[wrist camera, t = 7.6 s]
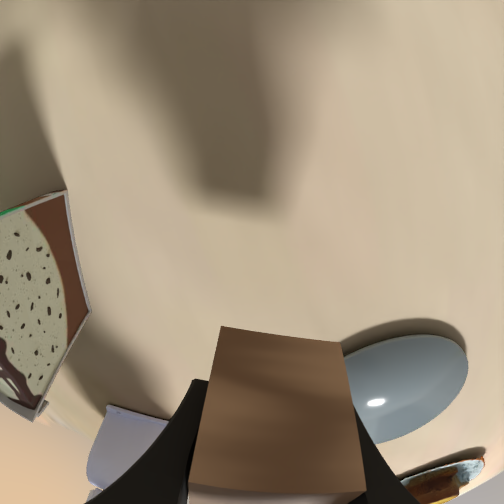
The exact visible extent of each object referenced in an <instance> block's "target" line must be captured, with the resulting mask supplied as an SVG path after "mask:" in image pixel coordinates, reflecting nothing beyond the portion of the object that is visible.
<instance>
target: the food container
mask: <svg viewBox="0 0 504 504" xmlns="http://www.w3.org/2000/svg"><path fill="white" fill-rule="evenodd" d="M91 312H92V310H91V306H90V303H89V299H88V295H87V291H86V287H85V283H84V279H83V275H82V271H81V266H80V262H79V257H78V252H77V247H76V242H75V237H74V231H73V225H72V219H71V213H70V206H69V199H68V191H67V190H59V191H54V192H51V193H48V194H45V195H43V196H40V197H37V198H35V199H32V200H30V201H27V202H25V203H22V204H20V205H17V206H15V207H12V208H10V209H8V210H5V211H3V212H1V213H0V402H1V403H2V404H4V405H5V406H6V407H8V408H9V409H10V410H12V411H14V412H15V413H17V414H18V415H20V416H22V417H23V418H25V419H27V420H29V421H31V422H33V421H34V419H35V418H36V416H37V417H39V416H40V415H41V413H42V412H43V411H44V410H45V408H46V407H47V406H48V405H49V402H48V401H46V400H44V399H45V397H46V395H47V393H48V391H49V389H50V387H51V385H52V383H53V381H54V379H55V377H56V375H57V373H58V371H59V369H60V367H61V365H62V363H63V362H64V360H65V358H66V356H67V354H68V352H69V350H70V349H71V347H72V345H73V343H74V341H75V340H76V338H77V336H78V334H79V333H80V331H81V329H82V327H83V326H84V324H85V322H86V321H87V319H88V317H89V316H90V314H91Z"/></svg>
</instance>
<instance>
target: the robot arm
mask: <svg viewBox="0 0 504 504" xmlns="http://www.w3.org/2000/svg"><path fill="white" fill-rule="evenodd" d="M208 384H209V381H205V380H200V379H194V380H192V382H191V385H190V387H189V389H188V391H187V393H186V395H185V397H184V399H183V400H182V402H181V404H180V406H179V407H178V409H177V410H176V412H175V413H174V415H173V416H172V418H171V419H170V421H166V420H162V419H158V418H154V417H150V416H146V415H143V414H139V413H135V412H132V411H129V410H125V409H122V408H119V407H116V406H113V405H107V406H106V409H107V413H106V415H105V417H104V420H103V422H102V424H101V427H100V429H99V431H98V434H97V436H96V439H95V441H94V443H93V446H92V448H91V451H90V454H89V457H88V462H87V477H88V480H89V482H90V483H91V484H92V485H95V486H97V487H99V488H101V489H104V490H103V491H102V490H100V489H98V488H96V489H95V490H91V491H90V493H89V496H88V498H87V501H86V503H85V504H187V499H188V493H189V488H188V480H189V475H190V470H191V465H192V460H193V455H194V450H195V446H196V441H197V436H198V431H199V426H200V422H201V417H202V412H203V407H204V403H205V398H206V393H207V389H208ZM353 407H354V405H353ZM354 412H355V418H356V424H357V429H358V435H359V441H360V448H361V454H362V461H363V468H364V475H365V482H366V490H367V491H365V492H364V493H362V494H361V495H359V496H358V497H357V498H355V499H354V500H352V501H351V502H349V503H347V504H421V503H420V502H419V501H418V500H417V499H416V498H415V497H414V496H413V495H412V494H411V493H410V492H409V491H408V490H407V489H406V488H405V486H404V485H403V484H402V483H401V482H400V481H399V479H398V478H397V477H396V475H395V474H394V473H393V471H392V470H391V469H390V467H389V466H388V464H387V463H386V461H385V460H384V458H383V457H382V455H381V454H380V452H379V451H378V449H377V447H376V446H375V444H374V442H373V440H372V439H371V437H370V435H369V433H368V432H367V430H366V428H365V426H364V424H363V422H362V420H361V418H360V417H359V415H358V413H357V411H356V409H355V407H354Z"/></svg>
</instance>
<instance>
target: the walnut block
mask: <svg viewBox="0 0 504 504" xmlns="http://www.w3.org/2000/svg"><path fill="white" fill-rule="evenodd" d="M188 488H189V504H347V503H349V502H351V501H352V500H354V499H355V498H357V497H358V496H359V495H361V494H362V493H364V492H365V491H367V490H366V482H365V475H364V468H363V461H362V454H361V448H360V441H359V435H358V429H357V424H356V418H355V412H354V407H353V401H352V396H351V391H350V386H349V381H348V376H347V371H346V366H345V362H344V357H343V352H342V348H341V343H340V342H330V341H321V340H313V339H305V338H297V337H289V336H282V335H275V334H268V333H261V332H255V331H249V330H242V329H236V328H230V327H225V326H221V329H220V333H219V338H218V342H217V347H216V352H215V356H214V361H213V365H212V370H211V375H210V379H209V384H208V389H207V393H206V398H205V403H204V407H203V412H202V417H201V422H200V426H199V431H198V436H197V441H196V446H195V450H194V455H193V460H192V465H191V470H190V475H189V480H188Z"/></svg>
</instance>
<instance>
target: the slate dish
mask: <svg viewBox="0 0 504 504" xmlns="http://www.w3.org/2000/svg"><path fill="white" fill-rule="evenodd" d="M344 362H345V366H346V371H347V376H348V381H349V386H350V391H351V396H352V401H353V405H354V407H355V409H356V411H357V413H358V415H359V417H360V418H361V420H362V422H363V424H364V426H365V428H366V430H367V432H368V433H369V435H370V437H371V439H372V440H373V442H374V444H379V443H383V442H387V441H390V440H393V439H396V438H399V437H401V436H404V435H406V434H408V433H410V432H412V431H414V430H416V429H418V428H420V427H422V426H423V425H425V424H426V423H428V422H430V421H431V420H432V419H434V418H435V417H436V416H438V415H439V414H440V413H441V412H442V411H444V410H445V409H446V408H447V407H448V406H449V405H450V404H451V402H452V401H453V400H454V399H455V398H456V396H457V395H458V394H459V392H460V390H461V389H462V387H463V385H464V383H465V380H466V377H467V373H468V360H467V357H466V355H465V353H464V351H463V350H462V348H461V347H460V346H459V345H458V344H457V343H456V342H454V341H452V340H451V339H449V338H445V337H442V336H437V335H430V334H418V335H408V336H402V337H397V338H392V339H388V340H385V341H381V342H378V343H375V344H372V345H370V346H367V347H364V348H362V349H359V350H357V351H355V352H353V353H350V354H349V355H347V356H345V357H344Z"/></svg>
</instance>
